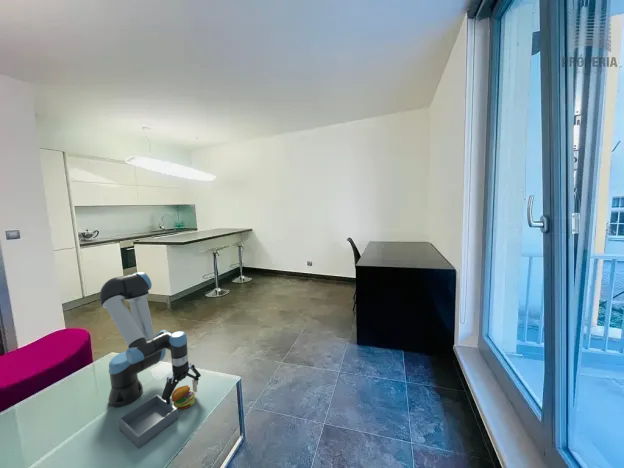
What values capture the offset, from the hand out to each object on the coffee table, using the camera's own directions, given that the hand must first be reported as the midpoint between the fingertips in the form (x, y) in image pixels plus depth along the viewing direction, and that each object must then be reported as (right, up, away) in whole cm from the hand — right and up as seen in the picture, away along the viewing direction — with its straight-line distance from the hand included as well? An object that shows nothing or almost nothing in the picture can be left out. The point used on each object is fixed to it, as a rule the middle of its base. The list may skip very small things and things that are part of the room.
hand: (183, 399), depth 137 cm
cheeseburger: (0, -3, +1) cm, 3 cm away
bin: (-10, -4, -12) cm, 16 cm away
